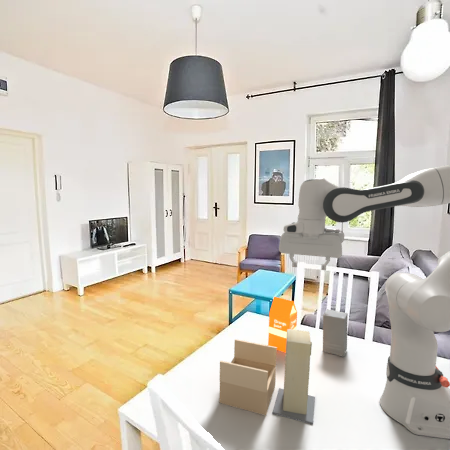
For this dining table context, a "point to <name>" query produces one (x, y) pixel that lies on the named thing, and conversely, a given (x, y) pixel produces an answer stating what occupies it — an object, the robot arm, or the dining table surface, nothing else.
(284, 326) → the orange juice
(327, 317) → the skincare box
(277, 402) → the mat
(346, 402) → the dining table surface
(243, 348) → the carton
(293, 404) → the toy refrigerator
